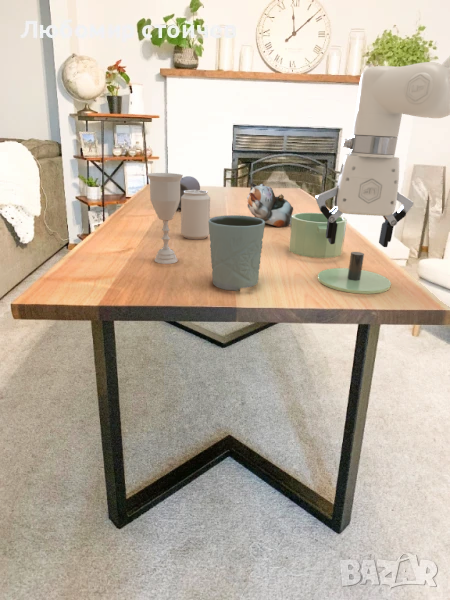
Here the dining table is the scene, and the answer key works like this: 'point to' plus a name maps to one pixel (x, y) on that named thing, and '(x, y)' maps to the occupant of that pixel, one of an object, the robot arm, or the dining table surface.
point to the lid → (354, 278)
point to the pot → (315, 236)
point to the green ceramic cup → (235, 250)
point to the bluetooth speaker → (188, 186)
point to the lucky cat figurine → (269, 206)
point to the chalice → (165, 208)
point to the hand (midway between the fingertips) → (356, 243)
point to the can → (195, 214)
